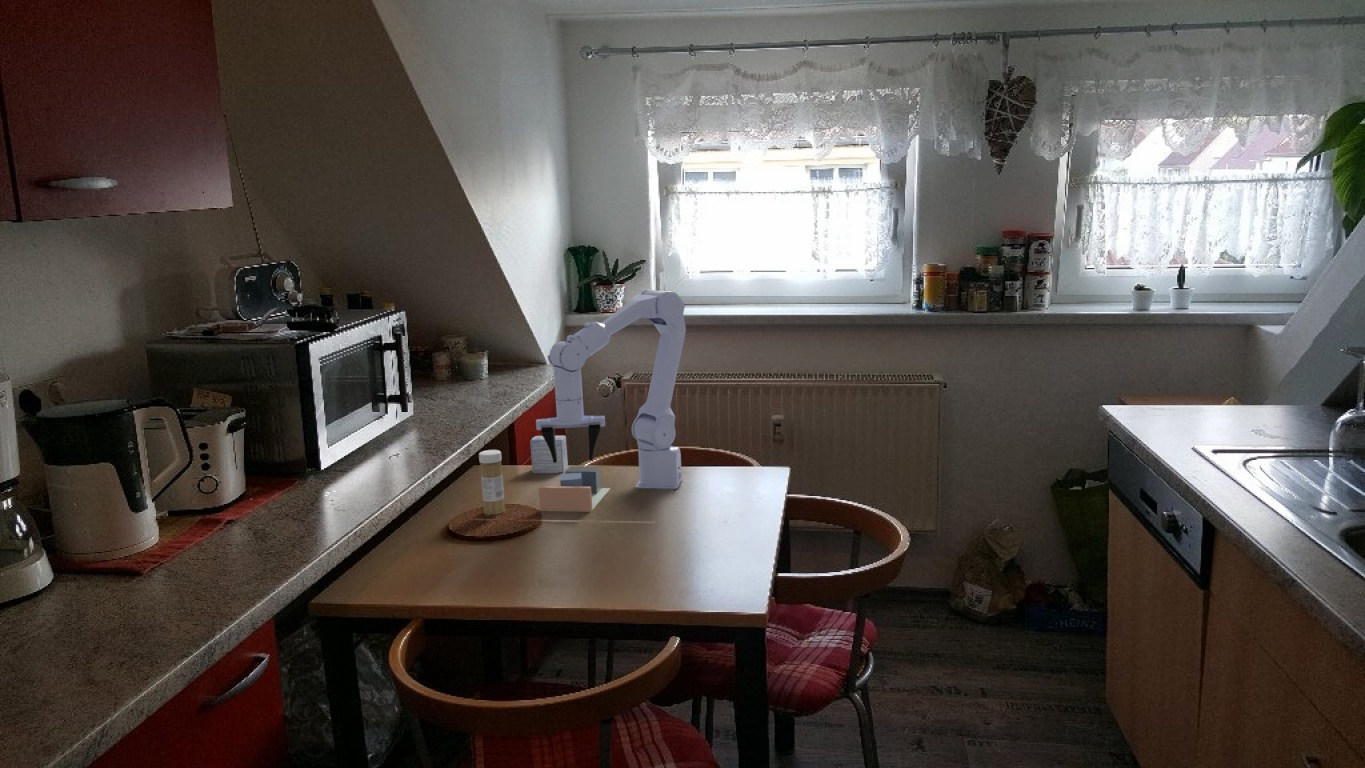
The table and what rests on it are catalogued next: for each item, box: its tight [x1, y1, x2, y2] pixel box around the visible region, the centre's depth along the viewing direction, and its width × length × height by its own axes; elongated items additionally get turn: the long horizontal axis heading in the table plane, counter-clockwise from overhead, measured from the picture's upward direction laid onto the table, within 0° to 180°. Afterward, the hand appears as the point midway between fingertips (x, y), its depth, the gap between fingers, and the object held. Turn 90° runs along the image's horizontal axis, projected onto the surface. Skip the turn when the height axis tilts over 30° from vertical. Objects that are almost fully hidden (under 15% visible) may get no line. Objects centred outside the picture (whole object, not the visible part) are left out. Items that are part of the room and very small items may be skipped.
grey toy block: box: [564, 466, 602, 494], centre depth 217 cm, size 7×4×5 cm, turn 80°
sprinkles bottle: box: [478, 449, 506, 515], centre depth 203 cm, size 5×5×14 cm
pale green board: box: [538, 485, 611, 513], centre depth 211 cm, size 11×17×5 cm, turn 170°
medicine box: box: [529, 435, 569, 474], centre depth 236 cm, size 8×4×9 cm, turn 84°
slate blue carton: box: [559, 473, 582, 486], centre depth 208 cm, size 4×5×6 cm
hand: (573, 460), depth 209 cm, fingers open, 7 cm apart
